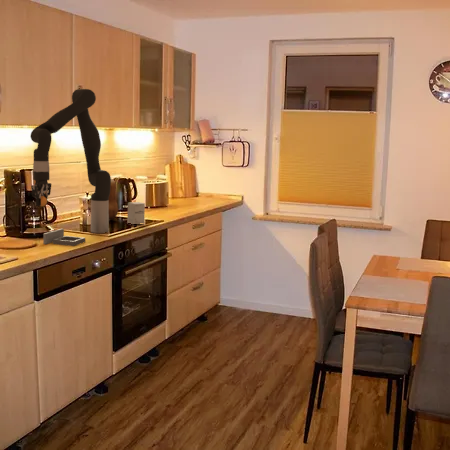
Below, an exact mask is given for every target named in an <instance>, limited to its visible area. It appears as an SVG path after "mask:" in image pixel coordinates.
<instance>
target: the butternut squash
mask: <svg viewBox="0 0 450 450" xmlns="http://www.w3.org/2000/svg"><path fill="white" fill-rule="evenodd" d="M117 202H118V201H117V184H116V181H115V179H113V178H111V189H110V195H109V210H108V214H109V221H110V220H111V221H112V220H114V219H116V217H117V216H118V213H119V206H118V203H117Z"/></svg>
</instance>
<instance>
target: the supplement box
mask: <svg viewBox="0 0 450 450" xmlns="http://www.w3.org/2000/svg"><path fill="white" fill-rule="evenodd" d="M145 207H146V203H144V202H140V201H136V202H135V201H133V202H131V201H130V202H127V224H128V223H131V224H140V223H144V224H145V212H146V211H145V209H146V208H145ZM131 224H130V225H131Z"/></svg>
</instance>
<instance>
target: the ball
mask: <svg viewBox="0 0 450 450" xmlns="http://www.w3.org/2000/svg"><path fill="white" fill-rule="evenodd" d="M46 205H48V198H47V199H46V198H45V197H44V196H43V195H41V206H40V207H45V206H46Z"/></svg>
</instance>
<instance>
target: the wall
mask: <svg viewBox="0 0 450 450" xmlns="http://www.w3.org/2000/svg"><path fill="white" fill-rule="evenodd" d="M64 230H65V229H64V228H58V229H55V230H52V231H48V232H44V233H43V234H42V235H43V239H42V240H43V245H47V244H50V243H51V244H52V243H53V239H56V238H60V237H63V236H65V231H64Z"/></svg>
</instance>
